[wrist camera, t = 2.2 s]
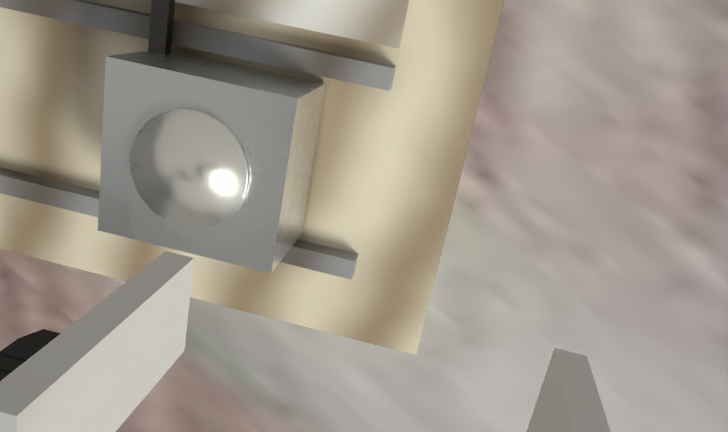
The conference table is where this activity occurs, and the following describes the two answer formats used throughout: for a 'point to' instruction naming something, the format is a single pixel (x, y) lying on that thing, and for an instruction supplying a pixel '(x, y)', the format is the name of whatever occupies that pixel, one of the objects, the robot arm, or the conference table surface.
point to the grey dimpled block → (205, 152)
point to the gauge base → (331, 160)
